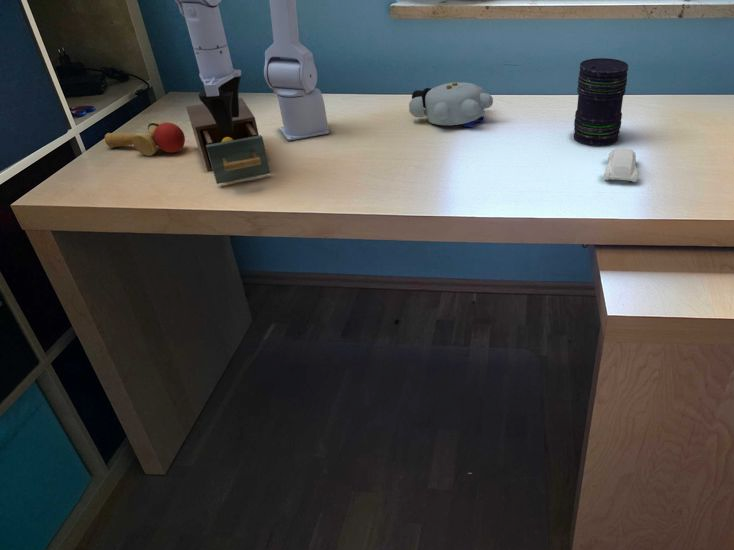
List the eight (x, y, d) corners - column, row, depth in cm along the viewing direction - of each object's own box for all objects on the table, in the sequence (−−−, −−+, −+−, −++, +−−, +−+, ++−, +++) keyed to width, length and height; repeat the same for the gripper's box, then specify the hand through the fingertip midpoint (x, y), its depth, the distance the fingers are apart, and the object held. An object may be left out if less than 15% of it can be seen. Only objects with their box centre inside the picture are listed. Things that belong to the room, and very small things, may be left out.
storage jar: (597, 126, 143) (605, 55, 134) (628, 139, 137) (639, 66, 127) (563, 136, 139) (569, 63, 129) (594, 150, 132) (602, 75, 123)
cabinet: (264, 160, 131) (254, 117, 126) (207, 171, 128) (194, 127, 122) (251, 138, 141) (241, 97, 135) (198, 148, 137) (185, 106, 131)
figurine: (507, 113, 149) (440, 107, 159) (504, 75, 144) (436, 71, 154) (463, 137, 138) (395, 128, 149) (459, 96, 133) (388, 90, 144)
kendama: (102, 161, 136) (174, 155, 131) (91, 130, 133) (164, 123, 128) (127, 153, 142) (196, 147, 138) (116, 124, 139) (187, 116, 135)
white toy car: (637, 186, 119) (641, 162, 116) (603, 184, 120) (606, 160, 117) (637, 160, 128) (640, 138, 125) (605, 158, 129) (608, 136, 126)
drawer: (276, 182, 121) (267, 145, 116) (221, 193, 118) (210, 156, 113) (257, 151, 133) (249, 116, 128) (207, 160, 130) (197, 125, 125)
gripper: (227, 55, 105) (246, 136, 113) (240, 34, 116) (256, 109, 125) (183, 58, 104) (206, 139, 113) (200, 36, 115) (219, 111, 124)
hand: (230, 124), depth 119 cm, fingers open, 7 cm apart
